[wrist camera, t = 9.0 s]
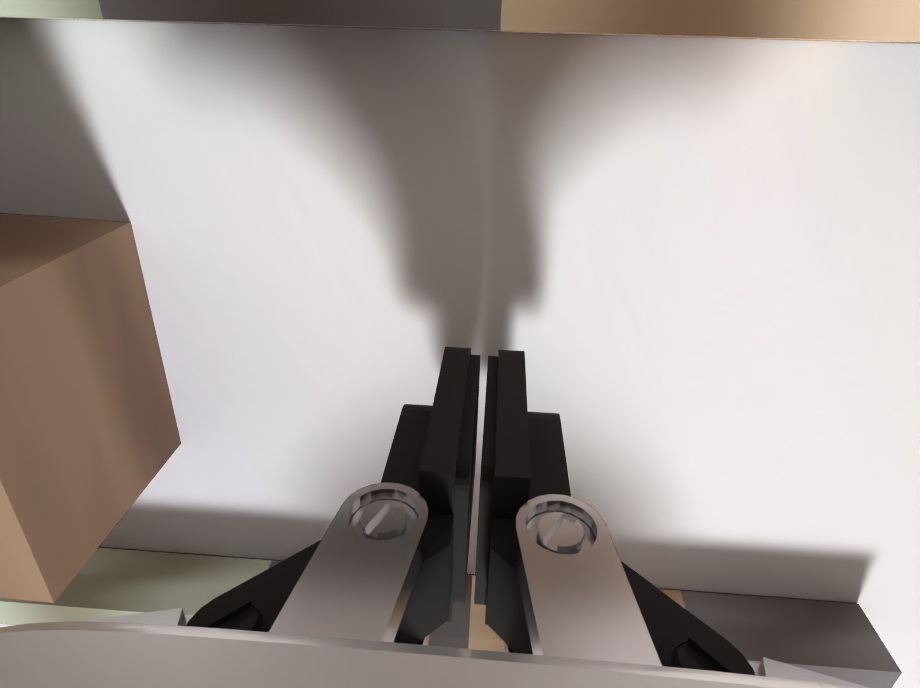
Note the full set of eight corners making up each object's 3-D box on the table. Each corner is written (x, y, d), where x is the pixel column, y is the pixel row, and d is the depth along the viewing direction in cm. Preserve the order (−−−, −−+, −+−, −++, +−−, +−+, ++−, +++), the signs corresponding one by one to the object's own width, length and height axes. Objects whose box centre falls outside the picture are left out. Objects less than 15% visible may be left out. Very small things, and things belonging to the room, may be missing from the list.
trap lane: (1195, -21, 9) (1360, -34, 7) (846, 626, 17) (886, 695, 15) (-324, -55, 10) (-494, -75, 9) (-5, 562, 18) (-60, 618, 16)
